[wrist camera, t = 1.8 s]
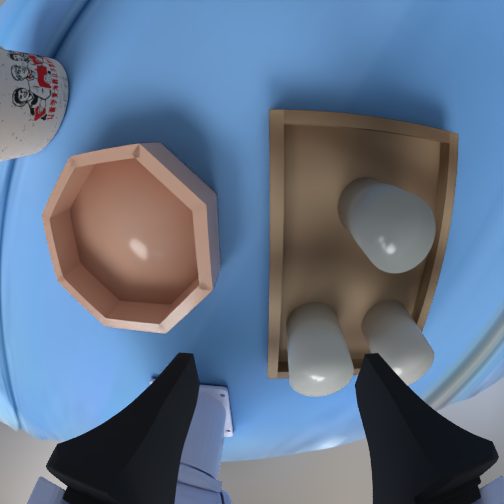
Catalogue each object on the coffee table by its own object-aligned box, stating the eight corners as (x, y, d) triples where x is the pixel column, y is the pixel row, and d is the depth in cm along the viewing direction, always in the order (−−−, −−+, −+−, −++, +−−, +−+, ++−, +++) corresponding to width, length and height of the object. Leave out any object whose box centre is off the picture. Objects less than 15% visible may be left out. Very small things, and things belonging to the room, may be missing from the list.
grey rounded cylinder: (390, 237, 18) (427, 272, 12) (335, 236, 18) (359, 273, 13) (396, 179, 16) (440, 196, 11) (339, 174, 16) (368, 190, 11)
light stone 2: (399, 338, 21) (422, 383, 16) (357, 342, 21) (374, 391, 16) (411, 298, 19) (442, 341, 14) (366, 300, 20) (390, 348, 14)
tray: (400, 356, 22) (407, 368, 21) (267, 363, 23) (267, 378, 21) (444, 133, 15) (458, 133, 13) (269, 112, 16) (269, 109, 14)
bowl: (224, 311, 21) (217, 337, 18) (89, 301, 22) (70, 320, 19) (214, 137, 16) (203, 136, 14) (61, 159, 17) (35, 165, 14)
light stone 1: (333, 343, 21) (346, 394, 16) (284, 344, 21) (287, 397, 16) (341, 301, 20) (359, 351, 15) (287, 302, 20) (291, 354, 15)
